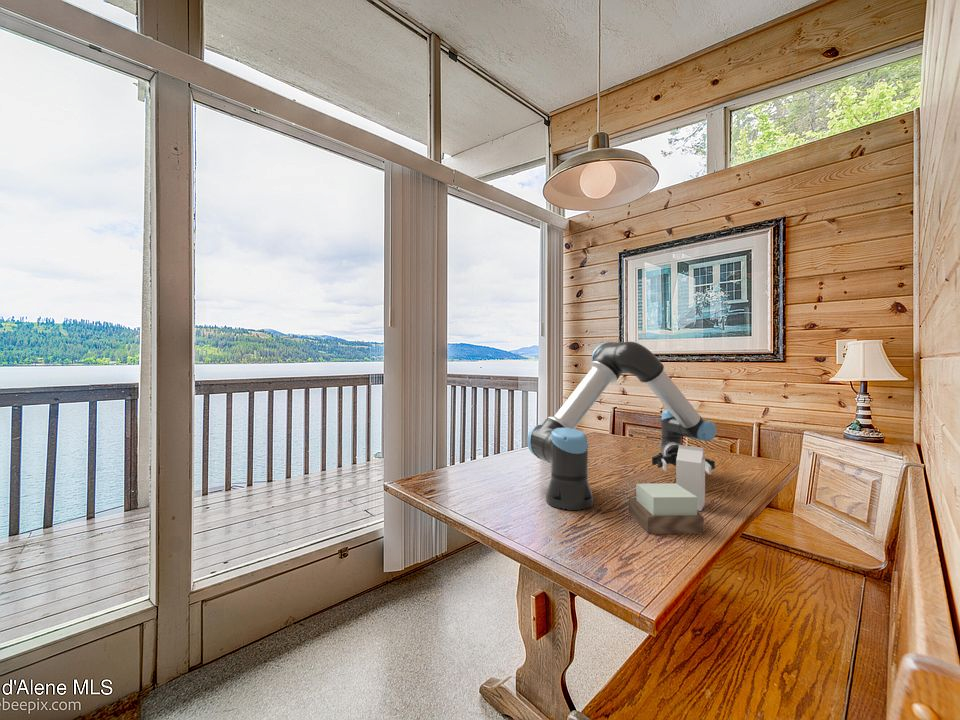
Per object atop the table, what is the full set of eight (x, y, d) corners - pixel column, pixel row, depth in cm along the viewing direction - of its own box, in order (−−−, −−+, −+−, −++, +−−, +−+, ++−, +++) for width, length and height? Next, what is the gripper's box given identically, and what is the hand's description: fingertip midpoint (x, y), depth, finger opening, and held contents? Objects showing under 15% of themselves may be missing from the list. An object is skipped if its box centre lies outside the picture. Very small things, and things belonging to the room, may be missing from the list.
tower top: (653, 515, 112) (653, 497, 112) (636, 500, 124) (636, 483, 124) (697, 515, 112) (697, 497, 112) (675, 499, 124) (675, 483, 124)
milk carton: (701, 511, 126) (701, 450, 126) (676, 506, 131) (676, 447, 130) (705, 504, 132) (705, 445, 132) (680, 500, 136) (680, 443, 136)
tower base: (647, 535, 111) (647, 517, 111) (628, 514, 126) (628, 497, 126) (703, 535, 111) (703, 517, 111) (677, 514, 126) (677, 497, 126)
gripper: (711, 466, 155) (729, 482, 135) (641, 461, 162) (647, 477, 142) (711, 446, 155) (729, 460, 135) (641, 442, 162) (647, 455, 142)
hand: (687, 468), depth 138 cm, fingers open, 13 cm apart
